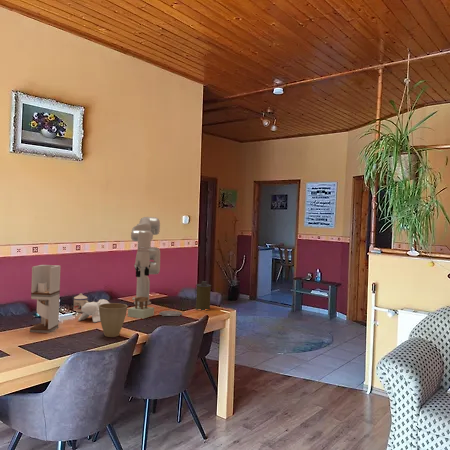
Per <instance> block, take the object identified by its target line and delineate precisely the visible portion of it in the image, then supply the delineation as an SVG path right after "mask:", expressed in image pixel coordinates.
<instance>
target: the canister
mask: <svg viewBox="0 0 450 450" xmlns="http://www.w3.org/2000/svg"><path fill="white" fill-rule="evenodd" d="M211 288H212V285H211V284H209V283H208V281H206V280H205V281H204V280H202V281H201V283H196V293H195V300H196V301H195V310H196V309H201V310H200V311H202V310H205V309H210V310H211V290H212V289H211Z"/></svg>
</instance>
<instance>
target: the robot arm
mask: <svg viewBox="0 0 450 450" xmlns="http://www.w3.org/2000/svg"><path fill="white" fill-rule="evenodd" d="M160 230H161V223H160V218H158V217H154V216H153V217H152V216H144V217H142V218H140V219H139V222H138V223H137V224H136V225H134V226H133V227H132V229H131V232H130V238H131V240H132V241H133V242H137V251H136V256H135V261H134V262H135V263H134V264H133V266H134V269H135V270H134V271H135V277H136V293H135V294H136V295H135V296H133V297H132V298H131V300H132V301H133V304H134V305H135V298H136V297H140V296H142V297H148V301H147V306H148V305H151V304H152V302H151V301H150V287H151V286H150V285H151V284H150V283H151V282H150V281H151V280H150V277H149V275H159V274H160V271H161V250H160V248H159V247H155V246H153V247H152V246H151V241H152V240H153V238H154V236H157V235H159V234H160ZM137 306H139V302H138V301H137ZM143 306H145V302H143Z"/></svg>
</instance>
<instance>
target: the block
mask: <svg viewBox="0 0 450 450" xmlns="http://www.w3.org/2000/svg"><path fill="white" fill-rule="evenodd" d="M154 315H155V307H153V306H151V307H150V306H147V308H145V305H143V309H141V307H139V305H137V309H136V308H135V306H133V307H132V306H131V307H129V308H127V317H128V318H129V317H130V318H137V319H141V318H142V319H147V318H149V317H153V316H154Z"/></svg>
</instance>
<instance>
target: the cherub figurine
mask: <svg viewBox="0 0 450 450" xmlns="http://www.w3.org/2000/svg"><path fill="white" fill-rule="evenodd" d="M88 302H89V303H86V304H85V305H84V306H82V309H81V311H83V312H82V314H81V315H80V316H79V317H78V319H77V321H80V322H81V321H83V320H86V319H87V318H89V317H91V318H92V323H99V322H100V323H101V320H100V314H99V305H101V304H107V303H110V301H108V300H107V299H103V298H102V299H101V298H100V299H99V300H98V301H91V302H90V301H88Z"/></svg>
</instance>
